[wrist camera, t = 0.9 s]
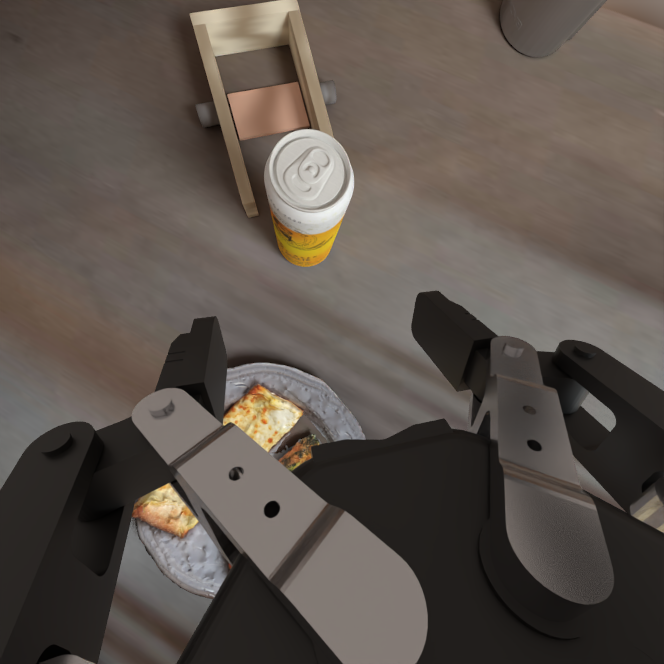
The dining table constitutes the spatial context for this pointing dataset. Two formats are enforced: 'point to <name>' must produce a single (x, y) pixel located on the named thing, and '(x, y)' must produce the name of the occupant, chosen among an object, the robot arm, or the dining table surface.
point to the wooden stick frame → (264, 103)
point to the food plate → (268, 431)
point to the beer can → (307, 194)
